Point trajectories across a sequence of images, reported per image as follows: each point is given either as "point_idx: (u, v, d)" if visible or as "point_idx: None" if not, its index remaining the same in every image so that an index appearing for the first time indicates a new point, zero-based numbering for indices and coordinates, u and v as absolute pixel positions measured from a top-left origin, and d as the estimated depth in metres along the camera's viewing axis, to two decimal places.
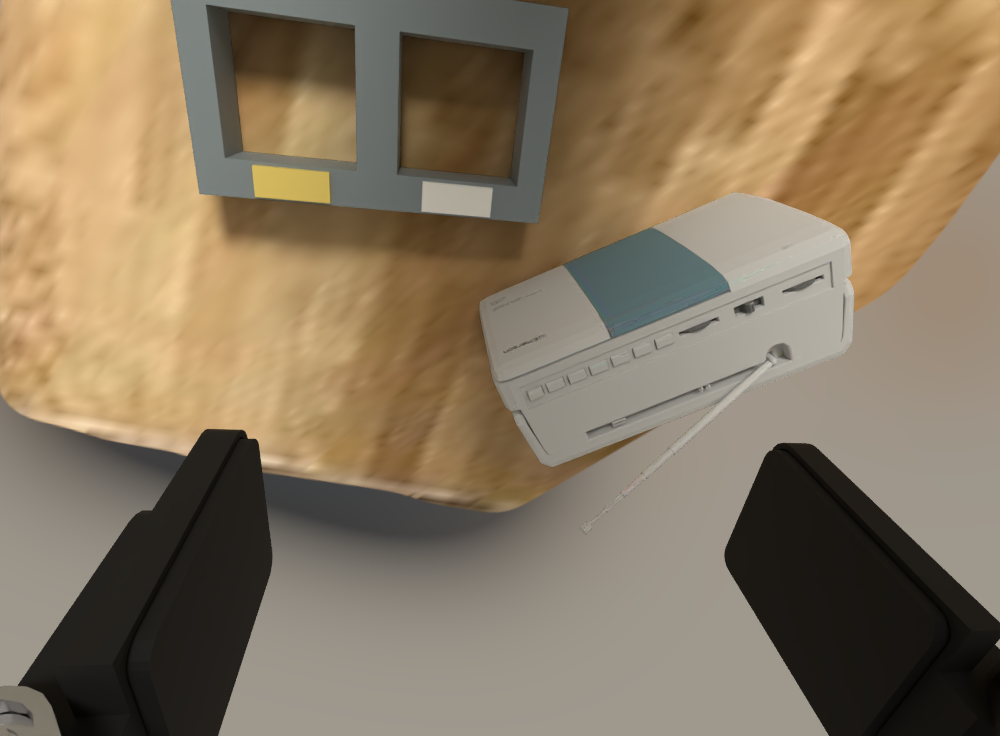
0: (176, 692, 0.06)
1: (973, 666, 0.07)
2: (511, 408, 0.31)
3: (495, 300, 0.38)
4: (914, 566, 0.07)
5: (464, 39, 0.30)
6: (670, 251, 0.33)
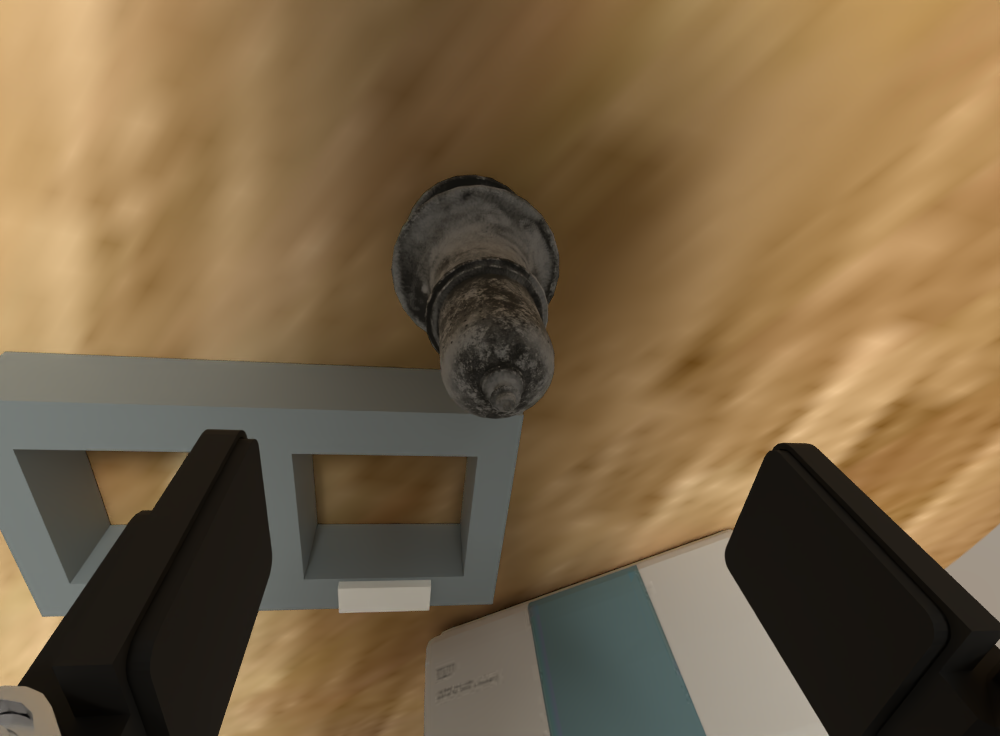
0: (176, 692, 0.06)
1: (973, 666, 0.07)
2: None
3: (443, 663, 0.30)
4: (914, 566, 0.07)
5: (382, 453, 0.22)
6: (660, 671, 0.26)
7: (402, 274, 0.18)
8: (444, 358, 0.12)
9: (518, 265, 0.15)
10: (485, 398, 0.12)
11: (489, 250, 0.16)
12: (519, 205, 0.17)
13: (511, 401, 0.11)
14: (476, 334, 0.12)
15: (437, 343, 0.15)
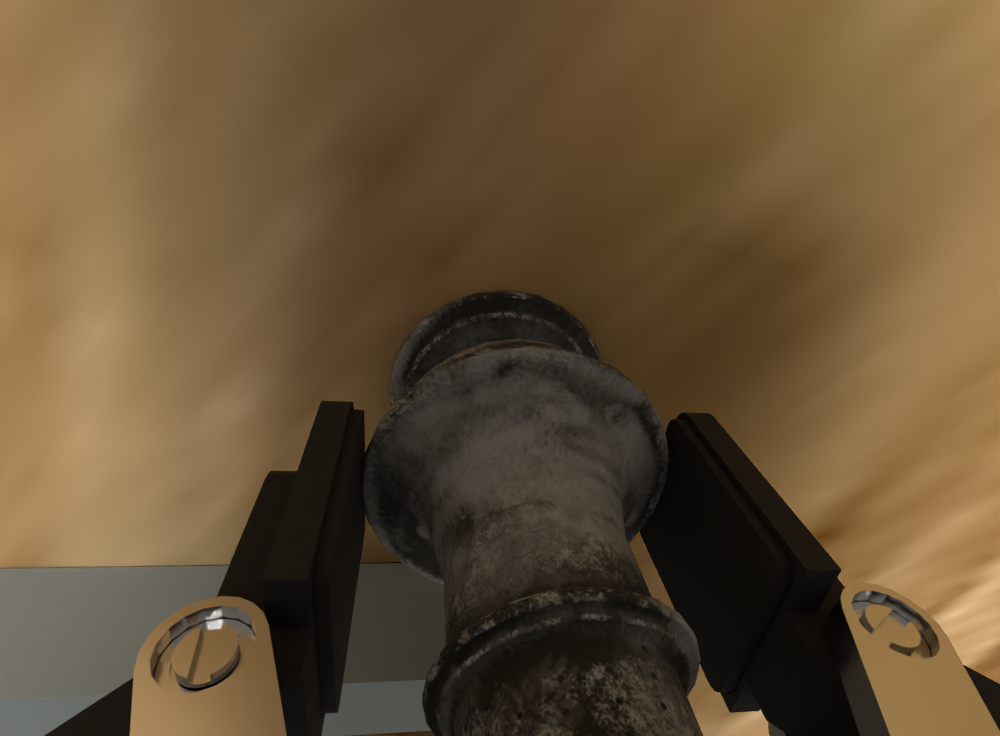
0: (335, 614, 0.07)
1: (817, 606, 0.07)
2: None
3: None
4: (772, 517, 0.08)
5: (354, 732, 0.13)
6: None
7: (379, 500, 0.10)
8: None
9: (646, 603, 0.06)
10: None
11: (559, 508, 0.07)
12: (605, 381, 0.09)
13: None
14: None
15: None
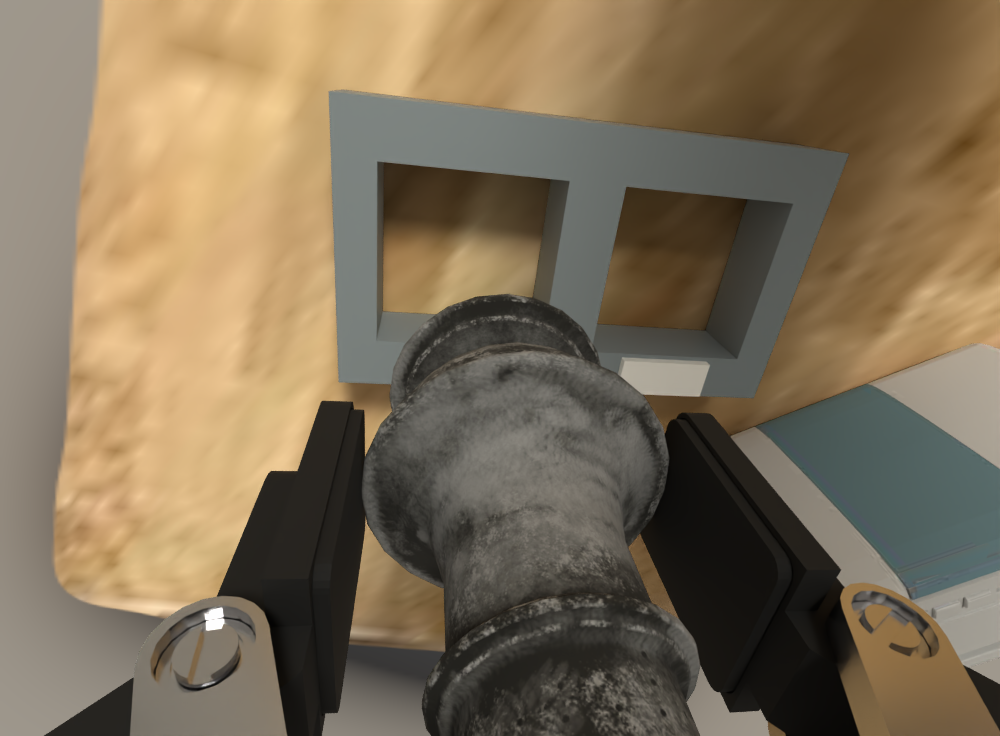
0: (335, 614, 0.07)
1: (817, 606, 0.07)
2: None
3: None
4: (772, 517, 0.08)
5: (707, 193, 0.22)
6: (942, 448, 0.26)
7: (380, 504, 0.10)
8: None
9: (646, 609, 0.06)
10: None
11: (559, 513, 0.07)
12: (605, 385, 0.09)
13: None
14: None
15: None
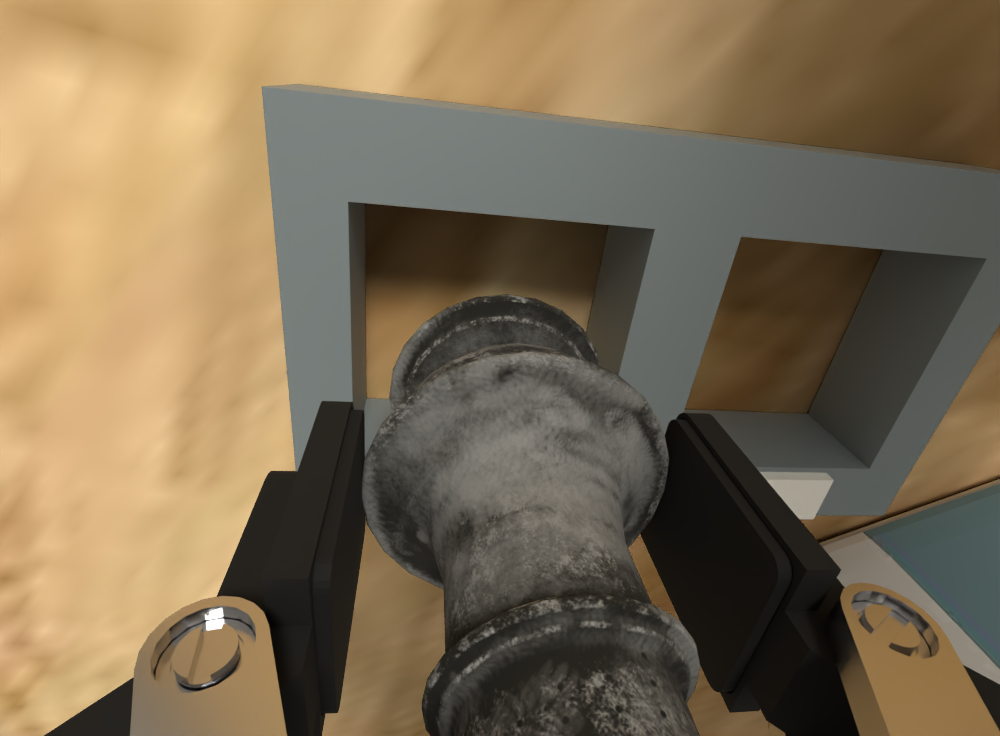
0: (336, 614, 0.07)
1: (817, 606, 0.07)
2: None
3: None
4: (772, 517, 0.08)
5: (861, 245, 0.14)
6: None
7: (380, 504, 0.10)
8: None
9: (646, 610, 0.06)
10: None
11: (559, 514, 0.07)
12: (605, 386, 0.09)
13: None
14: None
15: None
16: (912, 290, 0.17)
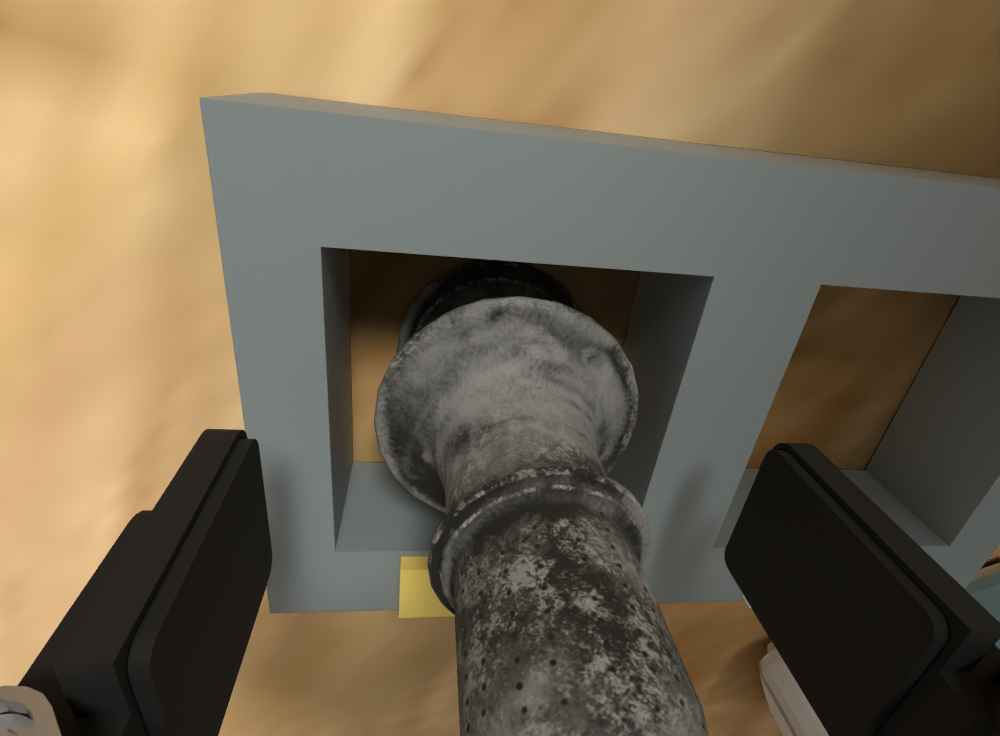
0: (176, 692, 0.06)
1: (973, 666, 0.07)
2: None
3: None
4: (914, 566, 0.07)
5: (967, 293, 0.12)
6: None
7: (390, 431, 0.11)
8: None
9: (603, 480, 0.08)
10: None
11: (539, 421, 0.09)
12: (581, 327, 0.11)
13: None
14: None
15: (450, 603, 0.08)
16: None
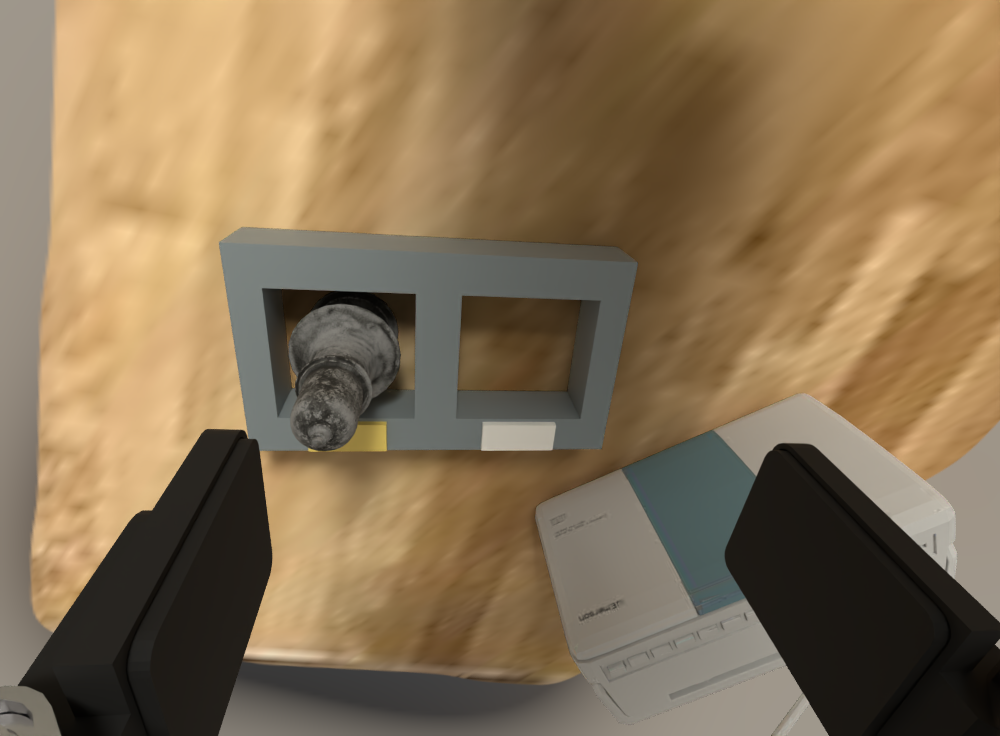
0: (176, 692, 0.06)
1: (973, 666, 0.07)
2: (590, 681, 0.29)
3: (555, 515, 0.36)
4: (914, 566, 0.07)
5: (529, 297, 0.28)
6: (747, 488, 0.31)
7: (295, 359, 0.28)
8: (290, 418, 0.22)
9: (347, 359, 0.25)
10: None
11: (339, 347, 0.26)
12: (365, 315, 0.28)
13: (318, 441, 0.21)
14: (304, 405, 0.22)
15: None
16: (587, 316, 0.31)
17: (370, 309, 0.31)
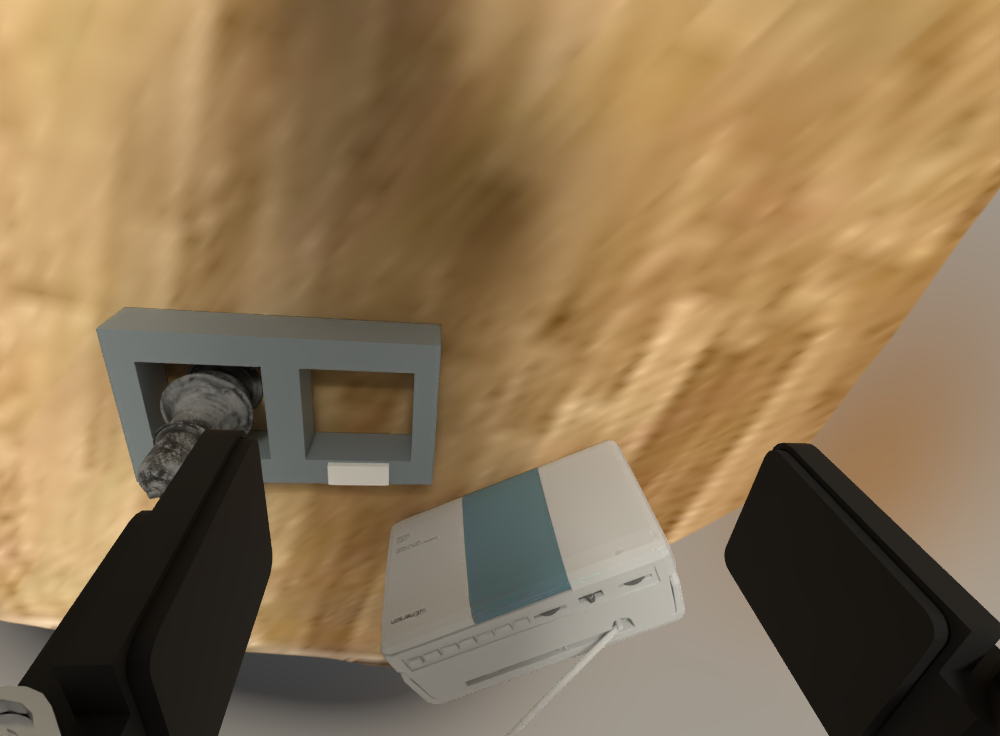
0: (176, 692, 0.06)
1: (973, 666, 0.07)
2: (397, 670, 0.37)
3: (401, 534, 0.44)
4: (914, 566, 0.07)
5: (354, 370, 0.36)
6: (539, 522, 0.39)
7: (166, 414, 0.35)
8: (137, 474, 0.30)
9: (192, 424, 0.32)
10: None
11: (192, 411, 0.33)
12: (220, 382, 0.35)
13: (152, 494, 0.29)
14: (145, 466, 0.29)
15: None
16: None
17: (236, 370, 0.38)
